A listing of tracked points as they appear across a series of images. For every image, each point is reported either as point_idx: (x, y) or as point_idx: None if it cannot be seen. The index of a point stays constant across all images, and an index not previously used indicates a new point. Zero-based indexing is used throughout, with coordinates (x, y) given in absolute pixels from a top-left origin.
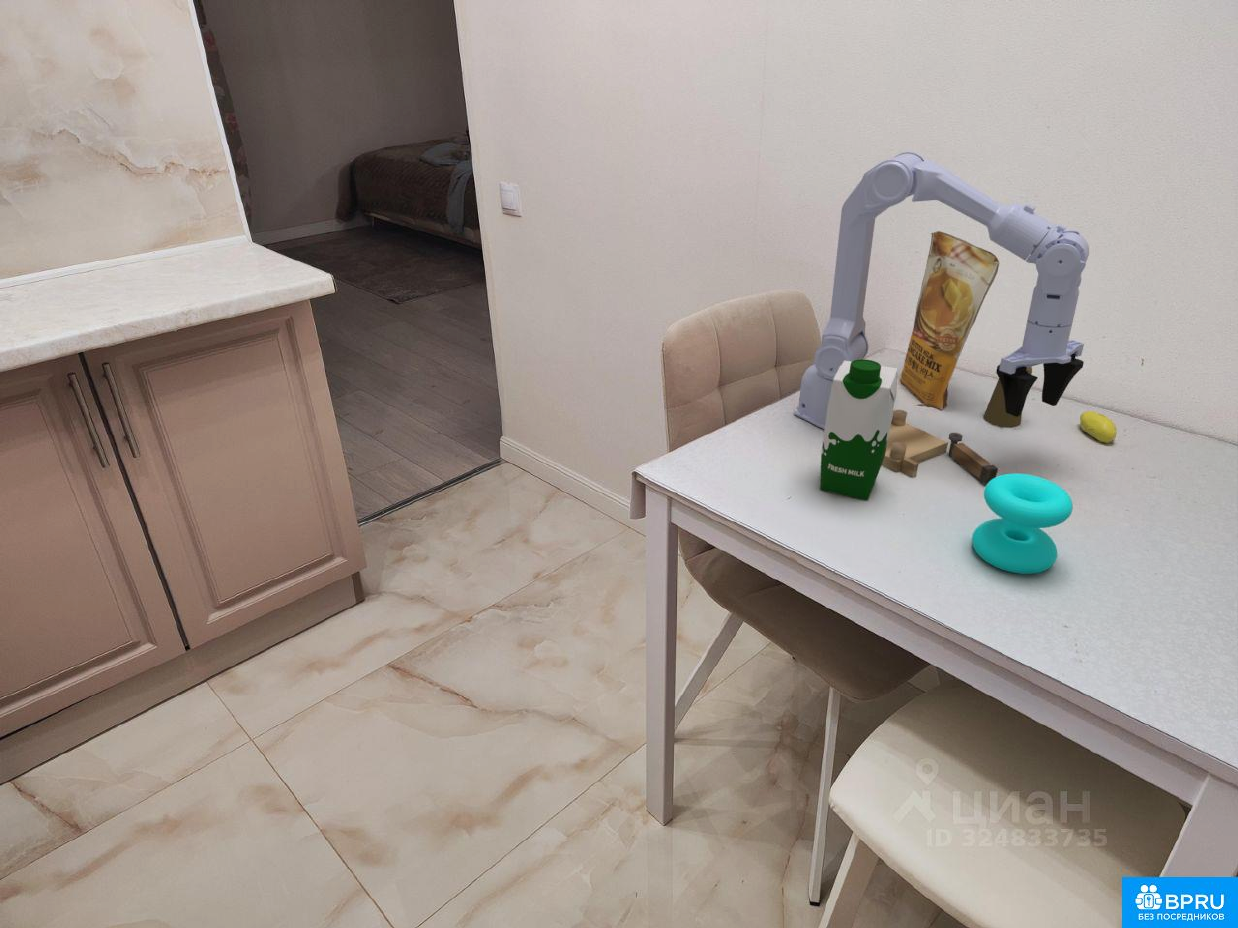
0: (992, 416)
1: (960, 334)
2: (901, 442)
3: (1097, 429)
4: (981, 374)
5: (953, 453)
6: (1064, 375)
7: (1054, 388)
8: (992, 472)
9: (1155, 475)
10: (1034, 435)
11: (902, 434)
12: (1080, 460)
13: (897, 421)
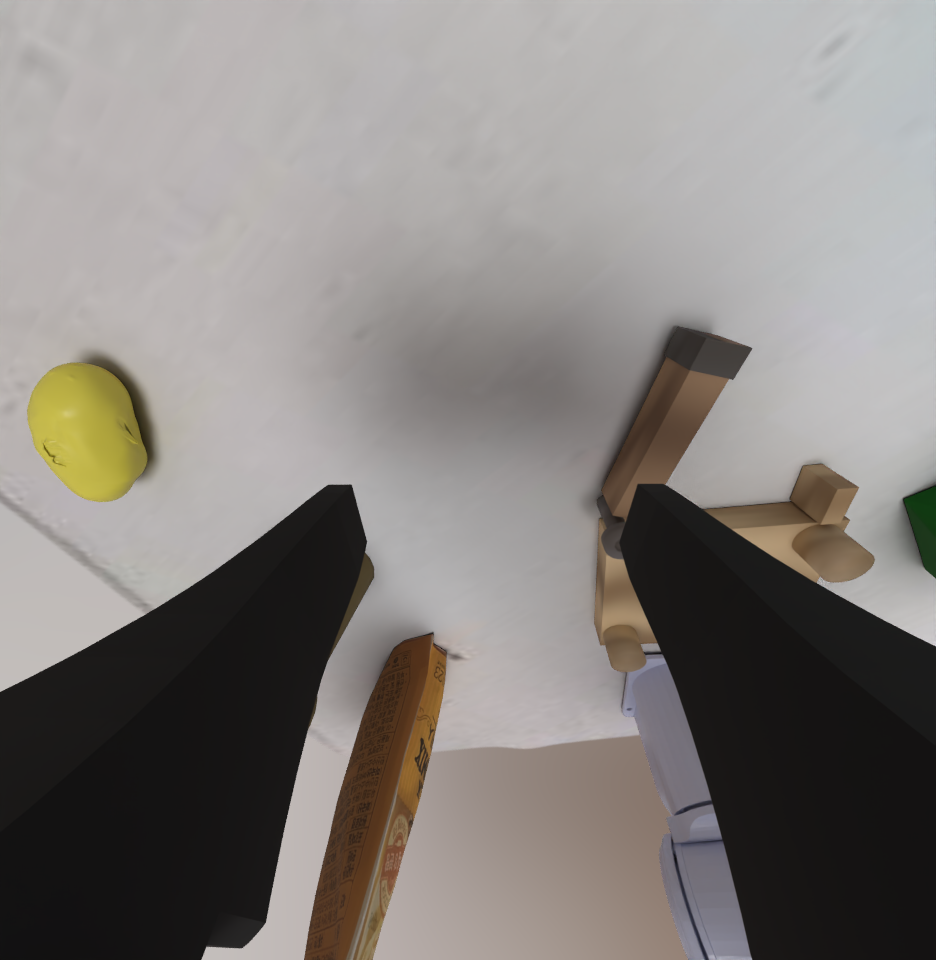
0: (364, 580)
1: (374, 901)
2: None
3: (108, 414)
4: None
5: None
6: (203, 693)
7: (311, 587)
8: (718, 339)
9: (15, 73)
10: (303, 489)
11: None
12: (263, 323)
13: (638, 640)
